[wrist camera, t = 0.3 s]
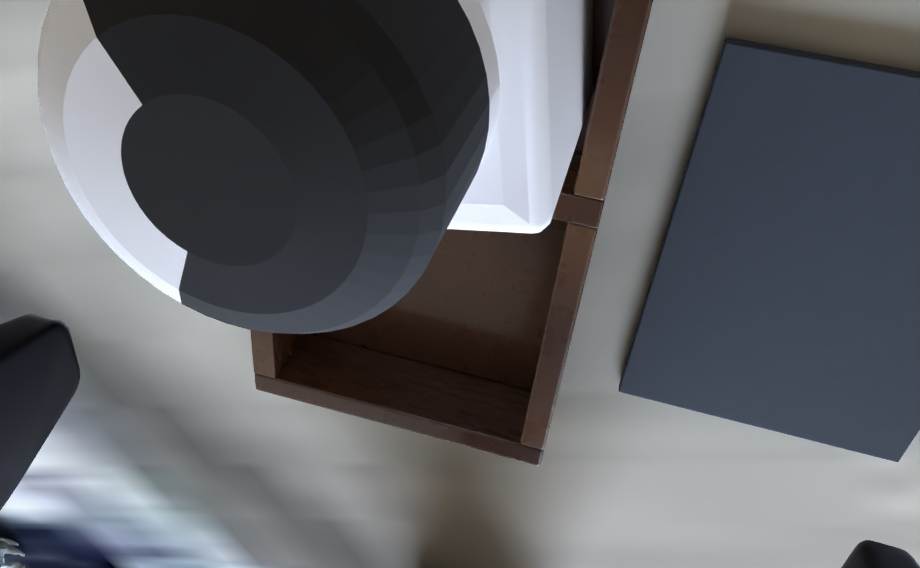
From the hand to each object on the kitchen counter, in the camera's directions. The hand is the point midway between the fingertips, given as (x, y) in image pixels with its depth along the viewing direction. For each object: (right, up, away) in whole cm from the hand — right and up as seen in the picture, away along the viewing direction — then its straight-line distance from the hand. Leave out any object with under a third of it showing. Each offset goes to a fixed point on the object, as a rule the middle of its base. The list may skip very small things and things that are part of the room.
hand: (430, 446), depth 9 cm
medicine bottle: (0, +10, +11) cm, 15 cm away
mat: (+11, +2, +14) cm, 17 cm away
